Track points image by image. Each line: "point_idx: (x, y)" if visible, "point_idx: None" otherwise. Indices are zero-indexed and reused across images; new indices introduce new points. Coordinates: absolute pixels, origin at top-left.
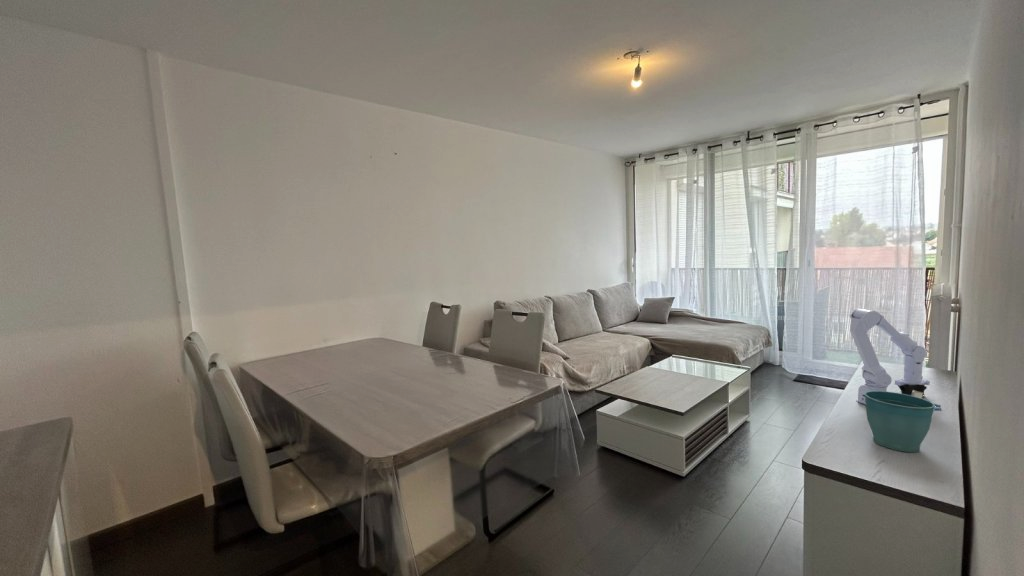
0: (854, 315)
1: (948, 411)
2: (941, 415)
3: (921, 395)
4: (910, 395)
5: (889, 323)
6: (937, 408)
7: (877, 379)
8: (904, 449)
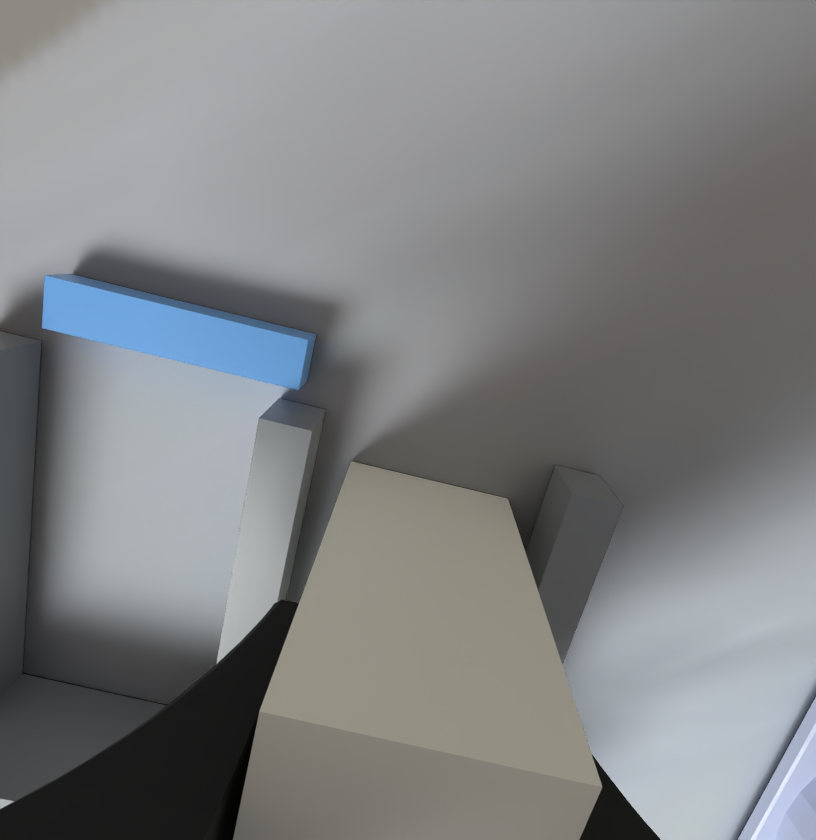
0: None
1: (17, 155)
2: (479, 25)
3: (316, 636)
4: None
5: None
6: (136, 296)
7: None
8: None
